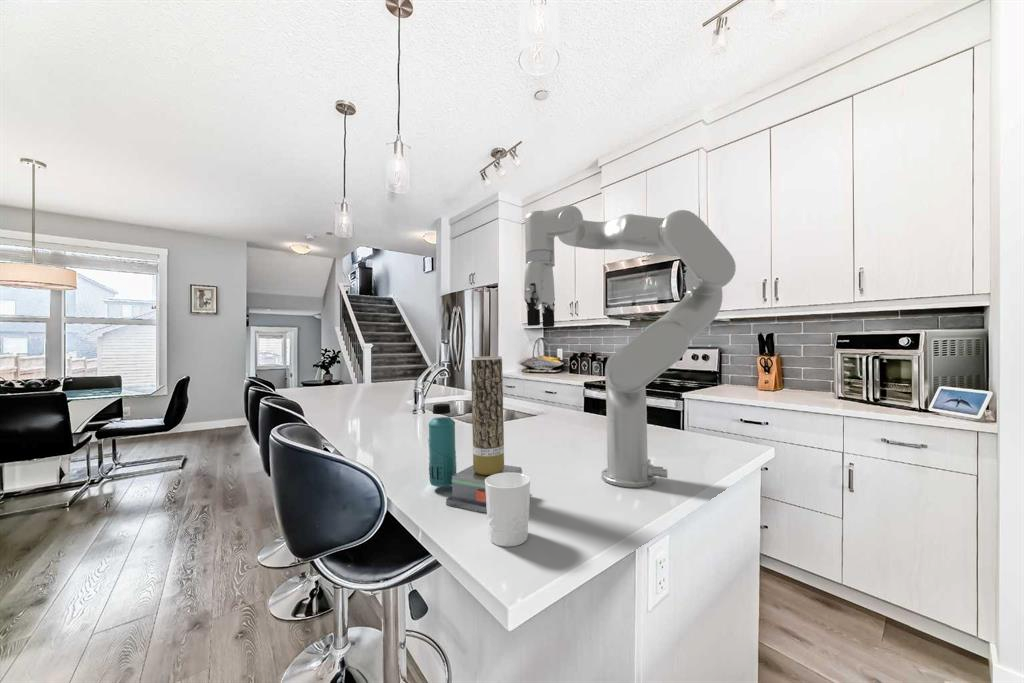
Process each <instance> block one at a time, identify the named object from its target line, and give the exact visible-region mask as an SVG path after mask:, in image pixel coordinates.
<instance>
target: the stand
mask: <svg viewBox="0 0 1024 683" xmlns="http://www.w3.org/2000/svg"><path fill="white" fill-rule="evenodd" d="M508 472H510V473H520V474H523V468H522V466H514V465H506V464H504V470H503V471H502V472H500V473H508ZM456 473H457V474H455V475H453V476H452V485H451V486H452V495H451V496H449V497H448V498H446V499H445V505H446V506H448V505H449V506H450V507H453V506H454V508H458V507H460V508H459V509H463V508H465V509H464V510H467V509H470V510H469V511H472V510H476V511H475V512H477V511H480V512H479V513H482V512H485V513H484V514H487V509H486V492H485V479H486V478H487V477H489V476H491V475H481V474H477V473H476V472H475V471H474V469H473V464H472V465H470V466H468V467H467V468H464V469H463V470H461V471H459V472H456Z"/></svg>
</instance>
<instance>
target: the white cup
mask: <svg viewBox="0 0 1024 683" xmlns="http://www.w3.org/2000/svg"><path fill="white" fill-rule="evenodd" d="M530 489H531V478H530V477H529V476H528V475H526V474H523V473H522V474H520V473H510V472H508V473H498V474H494V475H491V476H489V477H487V478H486V479H485V492H486V509H487V513H486V518H487V524H488V539H489V540H490V542H491V543H492V544H494V545H496V546H500V547H505V548H507V547H516V546H519V545H522V544H524V543H525V542H526V541H527V540H528V535H529V522H530V501H531V500H530V499H531V498H530V494H531V493H530V492H531V490H530Z"/></svg>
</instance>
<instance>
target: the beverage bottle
mask: <svg viewBox="0 0 1024 683" xmlns="http://www.w3.org/2000/svg"><path fill="white" fill-rule="evenodd" d="M450 413H451V406H450V403H436V404H435V403H434V404H433V406H432V414H434V415H446V414H450ZM428 451H429V452H428V454H429V456H428V458H429V459H428V460H429V463H428V465H429V466H428V475H429V482H430V485H431V486H432V487H433V486H434V487H437V488H438V487H440V488H441V487H442V488H443V487H449V486H452V476H453V475H455V474H457V473H458V472H457V453H456V421H455V420H454V419H452V418H451V417H449V416H439V417H433V418H432V419H431V420H430V421H429V423H428Z"/></svg>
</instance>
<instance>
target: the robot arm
mask: <svg viewBox="0 0 1024 683" xmlns="http://www.w3.org/2000/svg"><path fill="white" fill-rule="evenodd" d="M524 232H525V233H524V242H525V243H524V244H525V248H524V249H525V270H524V284H523V286H524V287H523V289H524V290H523V297H524V298H523V299H524V302H525V304H526V311H527V312H526V316H527V321H526V322H527V326H528V327H531V326H532V327H533V326H536V327H537V326H540V325H541V309H540V308H539V307H540V305H541V308H542V310H543V312H542V328H554V327H555V305H556V304H555V302H556V297H555V293H556V292H555V279H554V269H553V267H555V262H556V261H555V237H557V238H558V239H559V241H560V242H561V243H563V244H565V245H566V246H570V247H574V248H582V249H590V250H612V251H614V250H615V251H616V250H625V251H633V252H639V253H647V254H653V255H660V256H667V257H678V258H679V259H680V260H681V262H682V263H683V264H684V265H685V266H686V267H687V269H686V271H685V273H684V282H685V287H686V288H685V289H686V291H685V295H684V296H683V298H682V299H681V300H680V301H679V302H677V304H675V305H674V306H673V307H672V308H671V309H670V310H669V311H667V312H666V313H664V314H663V315H662V316H661V317H659V318H658V319H657V320H656V321H654V322H652V323H650V324H649V325H648V326H647V327H646V328H645V329H644V330H643V331H642V332H641V333H640V334H639V335H637V336H636V337H635V338H634V339H632V340H631V341H630V342H629V343H627V345H625V346H624V347H623V348H621V349H620V350H619V351H616V352H614V353H613V354H611V355H610V356H609V357H608V358H607V361H606V363H605V366H604V367H605V368H604V376H605V398H606V399H605V402H606V403H605V404H606V407H605V408H606V410H605V411H606V445H607V446H606V449H607V450H606V452H607V453H606V454H607V456H606V457H607V468H605V469H603V470H602V471H601V478H602V480H603V481H605V482H606V483H608V484H611V485H614V486H618V487H624V488H643V487H649V486H651V485H653V484H654V483H655V482H656V477H659V478H664V479H667V478H668V474H669V473H668V469H667V468H664V466H655V465H654V464H651V463H652V462H651V461H652V460H651V459H649V458H648V456H649V454H648V426H647V425H648V420H647V419H648V418H647V417H648V416H647V415H648V413H647V412H648V411H647V389H646V388H647V387H646V386H648V385H649V384H650V383H652V382H653V381H654V380H655V379H657V378H659V376H660V375H662V374H663V373H665V372H666V371H667V370H668V369H670V368H671V367H672V366H674V365H675V364H676V363H677V362H678V361H679V360H680V359H681V358H683V357H684V355H685V354H686V352H687V351H688V349H689V346H690V342H691V341H692V340H693V339H695V338H696V337H697V336H698V335H699V334H700V333H701V332H702V331H704V330H705V329H706V328H707V327H708V326H709V325H710V324H711V323H712V322H713V321H714V320H715V319H716V317H717V316H718V314H719V312H720V310H721V307H722V303H723V287H725V286H726V285H728V284H729V283H730V282H732V279H733V278H734V276H735V275H736V269H737V268H736V267H737V266H736V261H735V259H734V257H733V255H732V254H731V252H730V251H729V249H727V247H726V246H725V245H724V244H723V243H722V242H721V240H720V239H719V238H718V237H717V236H716V235H715V233H714V232H713V231H712V229H710V228H709V226H708V225H707V224H706V223H705V222H704V220H702V219H701V218H700V217H699V216H698V214H696V213H694V212H692V211H689V210H687V209H679V210H676V211H672V212H670V213H669V214H668V215H667V216H666V217H665V218H664V217H656V216H647V215H640V214H633V213H632V214H631V213H628V214H624V215H621V216H619V217H617V218H615V219H612V220H608V221H595V220H594V221H591V220H586V219H585V220H584V217H583V213H582V212H581V210H580V209H579V208H578V207H576V206H574V205H563V206H559V207H555V208H552V209H548V210H533V211H530V212H529V213H527V214H526V216H525V217H524Z"/></svg>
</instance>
